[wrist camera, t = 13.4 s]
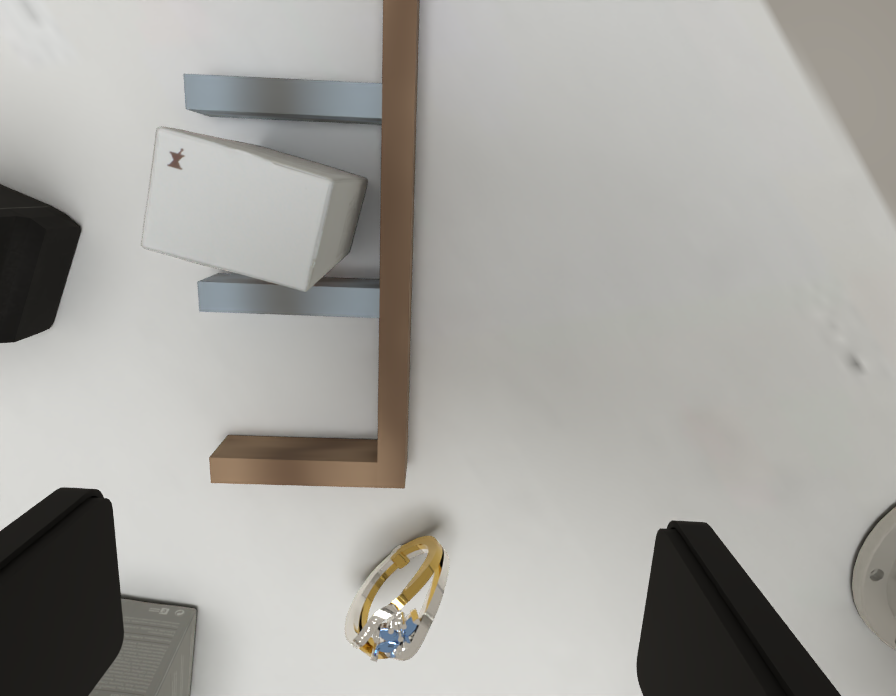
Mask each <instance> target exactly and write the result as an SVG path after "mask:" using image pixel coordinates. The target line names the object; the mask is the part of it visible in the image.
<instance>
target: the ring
mask: <svg viewBox="0 0 896 696" xmlns="http://www.w3.org/2000/svg"><path fill="white" fill-rule="evenodd" d="M424 553H428V555H427V557H426V559H425V561H424V563H423V564H422V566H421V567H420V569H419V570H418V572H417V573H416V574H415V576H414V577H413V578H412V580H411V581H410V582H409V583H408V585H407V586H406V587H405V589H404V590H403V591H402V592H401V594H400V595H399V596H398V597H397V598H396V599H395V600H394V601H393V602H391V603H390V604H389V605H387V606H385V607H383V608H382V609H380V610H378V611H377V612H376V613H375V614H374V615H373V616H372V617H371V618H370V619H369V621H368V622H367V619H368V613H369V609H370V606H371V604H372V601H373V599H374V597H375V595H376V593H377V592H378V590H379V588H380V587H381V586H382V584H383V583H384V582H385V580H386V579H387V578H388V577H389V576H390V575H391V574H392V573H393V572H394V571H395V570H396V569H397V568H399V569H401V568H403V567H404V566H406V565H407V564H408V563H409V561H410V559H412V558H414V557H416V556H418V555H420V554H424ZM448 573H449V556H448V554H447V552H446V551H445V549H444V548H443V547H442V546H441V544H440V543H439V542H438V541H437V540H436V539H435V538H434V537H432V536H423V537H419V538H416V539H414V540H412V541H410V542H408V543H406V544H404V545H403V546H402V545H399V546H397V547H396V548H394V549H393V550H392V551H391V554H390V555H389V556H388V557H386V558H385V559H384V560H383V561H382V562H381V563H380V564H379V565H378V566H377V567H376V568H375V569H374V570H373V572H372V573H371V574H370V575H369V576H368V578H367V579H366V580H365V582H364V583H363V584H362V586H361V587H360V589H359V591H358V592H357V594H356V596H355V597H354V599H353V601H352V603H351V605H350V608H349V610H348V613H347V616H346V620H345V637H346V640H347V641H348V642H349V643H350V644H351V645H352V646H353V647H355V648H356V649H358V648H359V649H360V650H362V651H363V652H364V653H365V654H366V655H368V656H370V657H371V660H373V661H377V659H385V658H392V659H396V660H400V661H405V660H408V659H410V658H411V657H413V656H414V655H415V654H416V653H417V651H418V650H419V648H420V647H421V645H422V643H423V641H424V639H425V637H426V635H427V633H428V630H429V628H430V626H431V624H432V622H433V619H434V617H435V615H436V613H437V610H438V608H439V605H440V602H441V599H442V596H443V593H444V590H445V586H446V582H447V578H448ZM432 575H433V576H432ZM431 576H432V580H431V583H430V586H429V589H428V592H427V595H426V598H425V600H424V603H423V605H422V608H421V610H420V613H419V615H418V613H417V610H416V608H414V609H413V610H411V611H410V613H409V614H408V615H407V616H406V617H405V613H404V612H401V608H402V607H403V606H404V605H405V604H406V603H407V602H408V601H410V600H411V599H412V598H413V597H414V596H415V595H416V594H417V593H418V591H419V590H420V589H421V588H422V587H423V586H424V585H425V584H426V582H427V581H428V580H429V579H430V577H431ZM391 615H393V616H392V617H389V616H391ZM385 619H387V623H382V622H383V621H384V620H385ZM372 634H373V638H371V636H372ZM403 642H404V644H403Z"/></svg>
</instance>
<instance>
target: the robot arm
mask: <svg viewBox="0 0 896 696" xmlns="http://www.w3.org/2000/svg"><path fill="white" fill-rule="evenodd" d="M852 590H853V597H854V602H855V605H856V607H857V610H858V612H859V615H860V616H861V618H862V619H863V621H864V622H865V623H866V625H867V626H868V627H869V628H870V629H871V630H872V631H873V632H874V633H875V634H876V635H877V636H878V637H879V638H880V639H881V640H882V641H883V642H884V643H885V644H887V645H888V646H890V647H891V648H892V649H894V650H896V507H895V508H893V509H892V510H891V511H890V512H889V513H888V514H887V515H886V516H885V517H884V518H882V519H881V520H880V521H879V522H878V524H877V525H876V526H875V528H874V529H873V530H872V531H871V533H870V534H869V535H868V537H867V538H866V540H865V542H864V544H863V546H862V548H861V550H860V552H859V554H858V557H857V560H856V563H855V567H854V570H853V580H852ZM123 639H124V625H123V614H122V604H121V593H120V582H119V571H118V561H117V550H116V539H115V529H114V518H113V508H112V503H111V502H110V500H109V499H107V498H104V497H103V495H102V493H101V492H100V491H99V490H97V489H83V488H59V489H57V490H56V491H54V492H53V493H52V494H50V495H49V496H47V497H46V498H45V499H43V500H42V501H41V502H39V503H38V504H37V505H35V506H34V507H32V508H31V509H30V510H28V511H27V512H26V513H24V514H23V515H22V516H20V517H19V518H18V519H16V520H15V521H13V522H12V523H11V524H9V525H8V526H7V527H5V528H4V529H3V530H1V531H0V696H89V694H90V693H91V692H92V690H93V689H94V687H95V686H96V685H97V683H98V682H99V681H100V679H101V678H102V677H103V675H104V674H105V672H106V671H107V670H108V668H109V667H110V666H111V664H112V663H113V662H114V660H115V659H116V657H117V656H118V654H119V652H120V650H121V647H122V644H123ZM637 677H638V682H639V685H640V688H641V691H642V693H643V696H841V695H840V694H839V692H838V691H837V690H836V688H835V687H834V686H833V685H832V683H831V682H830V681H829V679H828V678H827V677H826V675H825V674H824V673H823V672H822V670H821V669H820V668H819V666H818V665H817V664H816V663H815V661H814V660H813V659H812V657H811V656H810V655H809V653H808V652H807V651H806V650H805V648H804V647H803V646H802V644H801V643H800V642H799V641H798V639H797V638H796V637H795V635H794V634H793V633H792V631H791V630H790V629H789V628H788V626H787V625H786V624H785V622H784V621H783V620H782V619H781V617H780V616H779V615H778V613H777V612H776V611H775V610H774V608H773V607H772V606H771V604H770V603H769V602H768V600H767V599H766V598H765V597H764V595H763V594H762V593H761V591H760V590H759V589H758V588H757V586H756V585H755V584H754V582H753V581H752V580H751V578H750V577H749V576H748V575H747V573H746V572H745V571H744V569H743V568H742V567H741V566H740V564H739V563H738V562H737V560H736V559H735V558H734V556H733V555H732V554H731V553H730V551H729V550H728V549H727V547H726V546H725V545H724V544H723V542H722V541H721V540H720V538H719V537H718V536H717V535H716V533H715V532H714V531H713V529H712V528H711V527H710V526H709V525H708V524H707V523H704V522H688V521H671V522H670V523H669V524H668V526H667V529H659V530H658V532H657V536H656V541H655V547H654V554H653V560H652V566H651V573H650V579H649V585H648V592H647V598H646V605H645V611H644V617H643V624H642V630H641V637H640V643H639V649H638V656H637Z"/></svg>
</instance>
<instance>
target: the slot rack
mask: <svg viewBox="0 0 896 696" xmlns="http://www.w3.org/2000/svg"><path fill="white" fill-rule="evenodd" d="M418 35H419V0H383V62H382V83H361V82H341V81H321V80H300V79H280V78H260V77H239V76H219V75H198V74H184V89H185V104H186V109H187V110H190V111H194V112H197V113H200V114H203V115H207V116H211V117H232V118H254V119H275V120H296V121H318V122H339V123H360V124H381V125H382V141H381V220H380V279H355V278H329V277H322V278H321V279H320V280H319V281H318V282H316V283H315V284H314V285H313V286H312V287H311V288H310V289H309V290H308V291H306V292H304V291H300V290H297V289H293V288H289V287H286V286H282V285H278V284H274V283H271V282H267V281H263V280H260V279H256V278H252V277H248V276H245V275H241V274H226V273H218V274H215V275H213V276H210V277H208V278H205V279H203V280H201V281H198V297H199V311H202V312H229V313H256V314H283V315H310V316H337V317H364V318H379V378H378V440H371V439H338V438H306V437H273V436H241V435H228V436H227V437H226V438H225V439H224V441H223V442H222V443H221V444H220V445H219V447H218V448H217V449H216V450H215V451H214V453H213V454H212V455H211V456H210V457H209V461H210V475H211V483H232V484H267V485H303V486H338V487H374V488H405V479H406V469H407V446H408V409H409V372H410V334H411V297H412V259H413V222H414V185H415V147H416V110H417V73H418Z"/></svg>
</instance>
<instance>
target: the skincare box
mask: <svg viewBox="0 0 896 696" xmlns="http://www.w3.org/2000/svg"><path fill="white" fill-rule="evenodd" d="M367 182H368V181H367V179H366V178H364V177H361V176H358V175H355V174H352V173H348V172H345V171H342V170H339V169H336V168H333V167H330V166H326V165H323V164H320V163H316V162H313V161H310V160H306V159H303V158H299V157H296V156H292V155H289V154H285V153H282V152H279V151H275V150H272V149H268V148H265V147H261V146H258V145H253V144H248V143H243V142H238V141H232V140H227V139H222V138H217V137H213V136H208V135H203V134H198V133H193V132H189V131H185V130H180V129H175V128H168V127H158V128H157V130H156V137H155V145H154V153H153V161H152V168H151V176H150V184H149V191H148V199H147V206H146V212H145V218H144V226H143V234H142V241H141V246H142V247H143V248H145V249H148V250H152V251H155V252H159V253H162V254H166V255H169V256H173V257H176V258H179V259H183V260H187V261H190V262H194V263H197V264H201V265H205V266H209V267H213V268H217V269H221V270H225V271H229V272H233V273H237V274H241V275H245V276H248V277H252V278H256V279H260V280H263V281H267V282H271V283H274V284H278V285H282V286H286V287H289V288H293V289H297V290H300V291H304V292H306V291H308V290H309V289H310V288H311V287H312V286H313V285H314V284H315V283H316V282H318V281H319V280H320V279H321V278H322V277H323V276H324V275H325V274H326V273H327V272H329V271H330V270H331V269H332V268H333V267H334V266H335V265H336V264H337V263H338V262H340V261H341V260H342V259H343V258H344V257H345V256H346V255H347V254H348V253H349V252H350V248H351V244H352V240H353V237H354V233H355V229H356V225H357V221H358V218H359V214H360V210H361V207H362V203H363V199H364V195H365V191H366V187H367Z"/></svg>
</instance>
